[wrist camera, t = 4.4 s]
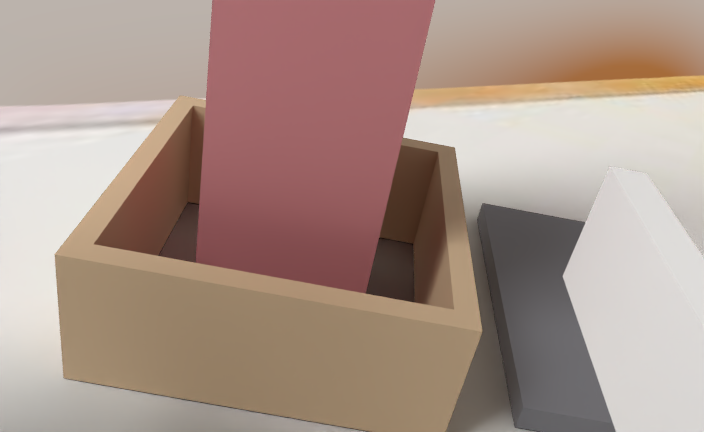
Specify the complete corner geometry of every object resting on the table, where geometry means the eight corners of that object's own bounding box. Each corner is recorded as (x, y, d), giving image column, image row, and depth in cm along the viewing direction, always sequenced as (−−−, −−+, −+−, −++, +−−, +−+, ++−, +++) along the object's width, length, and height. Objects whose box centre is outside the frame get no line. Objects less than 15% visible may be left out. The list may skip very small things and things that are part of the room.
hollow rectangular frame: (429, 237, 33) (454, 147, 30) (441, 444, 22) (482, 332, 20) (175, 190, 33) (180, 95, 30) (63, 378, 22) (54, 254, 19)
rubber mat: (659, 253, 36) (667, 238, 35) (788, 475, 24) (803, 457, 23) (477, 219, 35) (482, 203, 35) (514, 427, 23) (523, 407, 23)
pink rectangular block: (359, 264, 30) (481, -278, 20) (350, 357, 25) (508, -309, 15) (227, 240, 30) (280, -321, 19) (191, 329, 25) (236, -368, 14)
